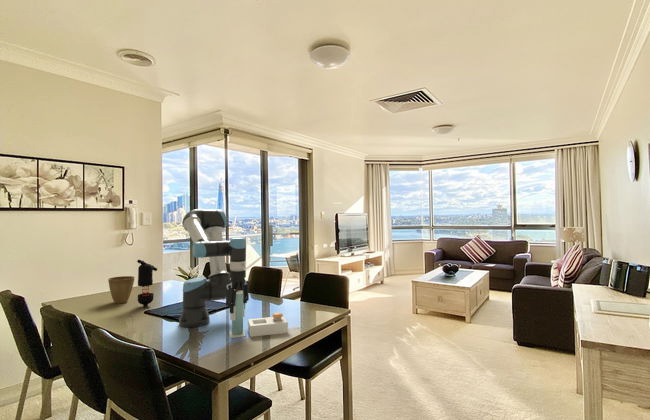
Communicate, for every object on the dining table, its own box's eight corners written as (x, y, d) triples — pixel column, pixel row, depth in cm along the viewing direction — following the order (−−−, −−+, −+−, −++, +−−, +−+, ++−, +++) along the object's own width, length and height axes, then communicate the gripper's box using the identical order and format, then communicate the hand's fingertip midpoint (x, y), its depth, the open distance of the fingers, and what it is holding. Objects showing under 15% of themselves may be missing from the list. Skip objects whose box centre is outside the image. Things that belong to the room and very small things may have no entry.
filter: (142, 309, 201) (142, 260, 202) (132, 307, 205) (133, 259, 206) (161, 304, 214) (162, 257, 214) (152, 302, 218) (152, 256, 218)
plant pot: (125, 305, 211) (125, 280, 212) (102, 305, 212) (102, 279, 212) (139, 299, 226) (139, 275, 227) (117, 299, 226) (117, 275, 227)
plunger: (273, 324, 163) (273, 316, 163) (271, 321, 168) (271, 313, 168) (283, 323, 165) (283, 315, 165) (281, 320, 169) (281, 312, 169)
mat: (230, 338, 154) (230, 337, 154) (229, 331, 163) (229, 331, 163) (245, 336, 157) (245, 335, 157) (244, 330, 165) (244, 329, 165)
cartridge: (229, 332, 159) (229, 291, 159) (237, 329, 163) (237, 289, 164) (237, 334, 156) (237, 292, 157) (245, 331, 161) (245, 290, 161)
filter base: (250, 336, 156) (250, 326, 157) (247, 329, 167) (247, 319, 167) (287, 332, 162) (287, 322, 162) (283, 325, 173) (283, 315, 173)
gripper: (228, 273, 151) (228, 324, 150) (256, 268, 166) (256, 314, 166) (217, 271, 155) (217, 321, 154) (245, 266, 170) (245, 312, 170)
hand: (237, 318), depth 160 cm, fingers closed on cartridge, 5 cm apart
